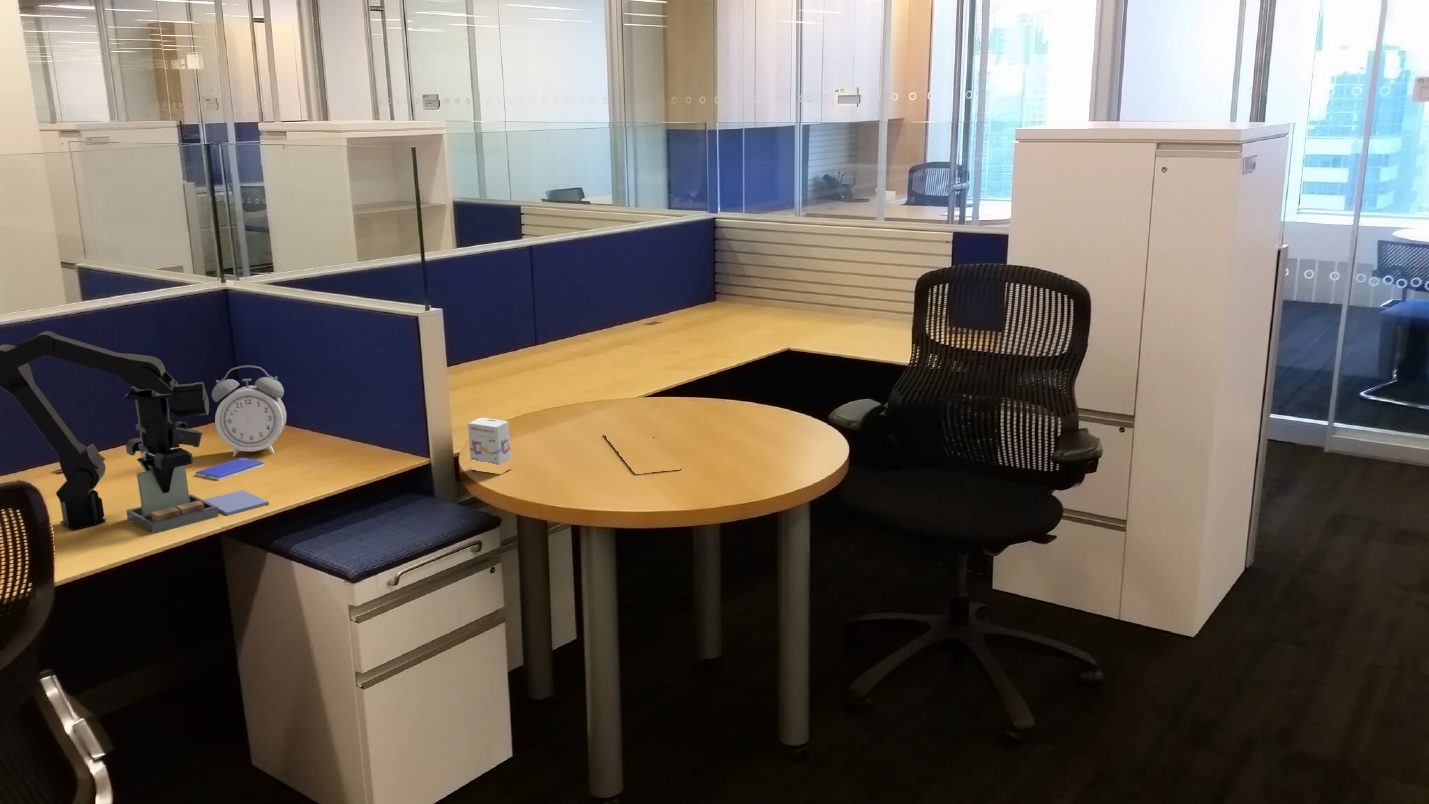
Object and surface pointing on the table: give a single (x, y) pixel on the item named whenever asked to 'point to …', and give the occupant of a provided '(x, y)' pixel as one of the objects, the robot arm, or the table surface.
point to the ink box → (489, 440)
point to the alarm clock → (250, 412)
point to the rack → (173, 522)
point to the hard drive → (230, 468)
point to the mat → (236, 502)
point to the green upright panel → (156, 498)
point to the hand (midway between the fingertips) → (164, 491)
